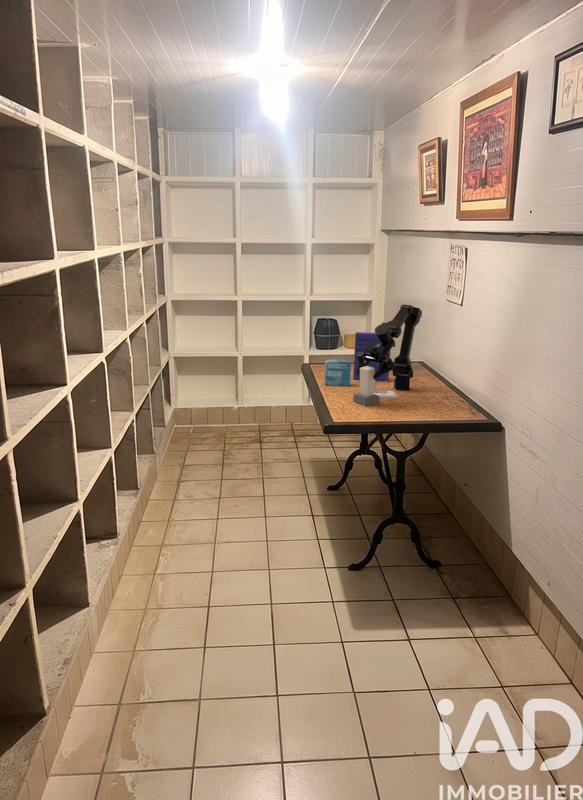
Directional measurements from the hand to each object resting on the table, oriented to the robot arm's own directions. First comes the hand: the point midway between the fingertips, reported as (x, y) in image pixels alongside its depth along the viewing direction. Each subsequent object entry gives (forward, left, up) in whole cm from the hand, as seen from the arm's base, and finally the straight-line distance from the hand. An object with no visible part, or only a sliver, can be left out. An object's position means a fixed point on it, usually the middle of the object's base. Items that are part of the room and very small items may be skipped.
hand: (365, 376), depth 260 cm
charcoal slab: (-1, -1, -12) cm, 13 cm away
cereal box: (-13, -45, -12) cm, 48 cm away
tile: (-11, -13, -12) cm, 21 cm away
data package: (+6, -35, -12) cm, 37 cm away
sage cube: (-7, -23, -12) cm, 27 cm away
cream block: (-1, -1, -8) cm, 8 cm away
